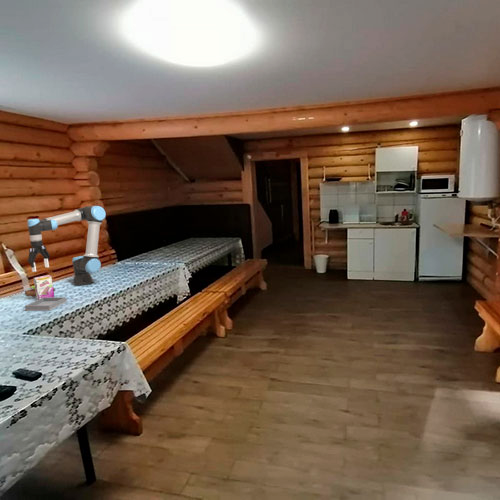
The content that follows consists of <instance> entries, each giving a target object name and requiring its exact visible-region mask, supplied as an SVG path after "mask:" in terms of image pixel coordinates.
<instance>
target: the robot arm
mask: <svg viewBox="0 0 500 500" xmlns="http://www.w3.org/2000/svg"><path fill="white" fill-rule="evenodd" d="M106 215H107V214H106V211H105V209H104V207H102V206H99V205H87V206H83V207H80V208H77V209H74V210H73V211H70V212H65V213H62V214H57V215H54V216H50V217H45V218H41V219H39V218H31V219H28V220H27V228H28V234H29V241H30V247H31V248H29V249H28V251H29V252H28V258H27V263H29V264H30V268H31V272H32V273H34V272H37V267H36V262H35V261H36V258H37V256H38V255H39V254H40V255H41V256H42V257H43V263H44V267H45V268H50V263H49V259H50V253H49V251H48V249H47V248H46V245H44V244H43V236H42V232H47V231H48V232H49V231H54V230H57V229H58V226H60V225H65V224H68V223H69V224H70V223H72V222H77V221H78V222H81V221H86V223H87V224H88V229H87V237H86V246H85V254H83V255H78V256H75V257H73V258H71V259H72V260H71V261H72V262H71V263H72V267H73V275H74V277H73V282H72V283H73V284H72V285H74V286H76V287H77V286H78V287H79V286H86V285H90V284H93V283H94V280H93V279H94V278H93V277H92V275H91V274H95V273H98V272H99V271H100V269H101V266H102V263H101V261H100V259H99V258H100V257H99V255H98V247H99V238H100V228H101V225H102V224H103V221H104V219H106Z"/></svg>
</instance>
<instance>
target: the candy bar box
mask: <svg viewBox="0 0 500 500" xmlns="http://www.w3.org/2000/svg"><path fill="white" fill-rule="evenodd" d="M33 284H34V285H35V286H34V285H33V286H34V287H35V291H36V296H35V297H36V301H37V300H39V299H41V298H45V297H56V296H55V291H54V289H53V288H54V283H53V276H52V275H50V274H48V275H42V276H37V277H33Z"/></svg>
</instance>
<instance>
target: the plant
mask: <svg viewBox="0 0 500 500" xmlns="http://www.w3.org/2000/svg"><path fill="white" fill-rule="evenodd" d="M30 287H31V289H28V290H25V291H24V293H25V295H26V296H27V297H33V298H34V297H36V291H35V285H33V286H30ZM53 289H54V292H55V291H56V290H55V289H56V288H54V287H53Z"/></svg>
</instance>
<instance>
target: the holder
mask: <svg viewBox="0 0 500 500" xmlns="http://www.w3.org/2000/svg"><path fill="white" fill-rule="evenodd" d="M67 302H68V301H67V297H66V296H64V297H62V296H60V297H58V296H57V297H56V296H55V297H45V298H41V299H39V300H37V299H36V300H35V301H33V302H30V303H28V304H26V305H24V310H25V312H45V311H46V312H50V311H52V310H55V309H56V308H58V307H60V306H62V305H64V304H66V303H67Z"/></svg>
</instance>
